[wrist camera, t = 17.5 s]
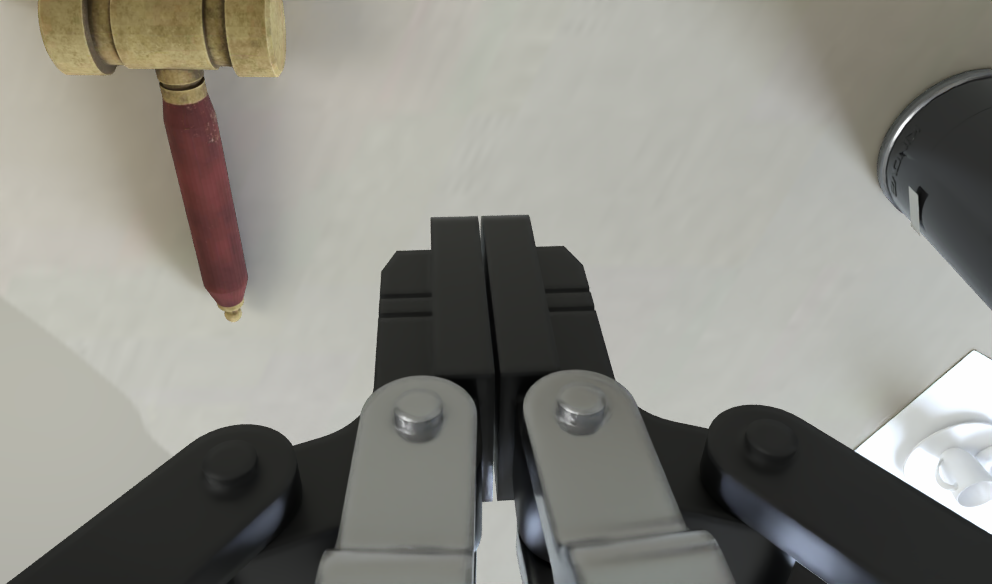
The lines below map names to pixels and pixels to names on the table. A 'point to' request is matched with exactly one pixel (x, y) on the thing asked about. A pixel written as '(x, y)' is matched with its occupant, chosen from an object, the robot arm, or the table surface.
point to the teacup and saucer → (945, 441)
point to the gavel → (180, 95)
